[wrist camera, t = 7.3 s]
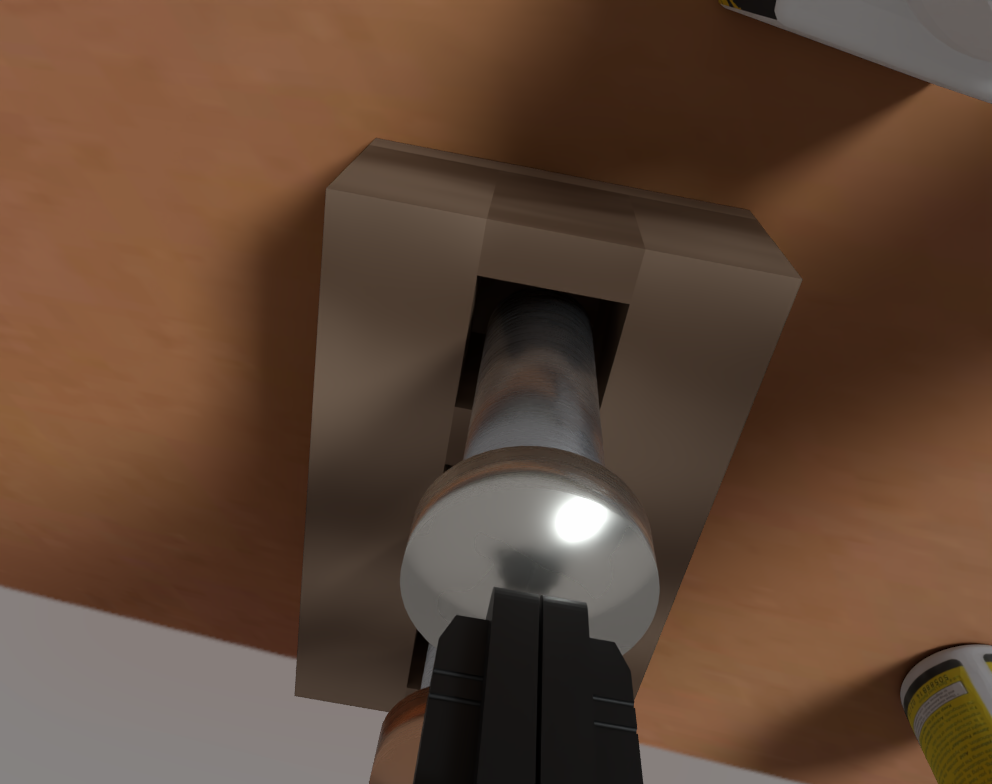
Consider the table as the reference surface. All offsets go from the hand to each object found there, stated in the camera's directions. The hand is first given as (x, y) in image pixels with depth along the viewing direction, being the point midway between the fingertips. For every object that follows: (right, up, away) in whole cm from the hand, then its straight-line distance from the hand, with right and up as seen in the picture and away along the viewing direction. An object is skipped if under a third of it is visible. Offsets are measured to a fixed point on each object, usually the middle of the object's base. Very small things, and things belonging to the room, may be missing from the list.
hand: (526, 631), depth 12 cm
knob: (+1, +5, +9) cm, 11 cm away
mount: (0, +3, +16) cm, 17 cm away
